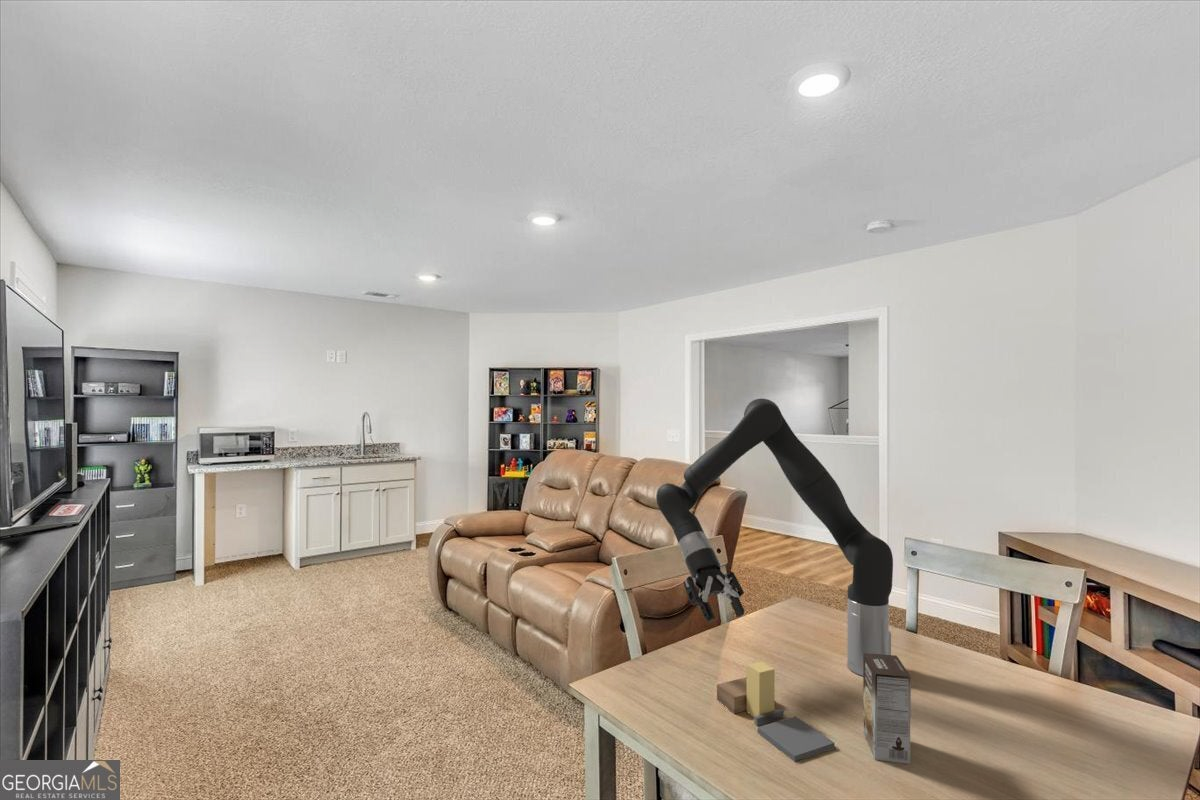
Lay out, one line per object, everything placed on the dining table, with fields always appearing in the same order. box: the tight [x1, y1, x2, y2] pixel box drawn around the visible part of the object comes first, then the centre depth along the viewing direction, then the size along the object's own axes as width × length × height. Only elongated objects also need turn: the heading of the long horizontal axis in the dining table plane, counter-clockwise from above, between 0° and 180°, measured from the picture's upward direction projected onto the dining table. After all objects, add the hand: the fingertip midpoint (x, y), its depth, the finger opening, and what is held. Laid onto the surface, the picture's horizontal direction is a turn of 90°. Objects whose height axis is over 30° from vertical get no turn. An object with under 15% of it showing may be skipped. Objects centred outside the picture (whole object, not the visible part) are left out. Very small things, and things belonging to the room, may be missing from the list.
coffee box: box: [862, 653, 912, 765], centre depth 107 cm, size 9×6×16 cm
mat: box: [757, 715, 836, 763], centre depth 109 cm, size 10×10×1 cm
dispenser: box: [716, 676, 785, 727], centre depth 121 cm, size 10×11×4 cm
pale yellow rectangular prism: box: [746, 660, 776, 717], centre depth 118 cm, size 4×4×10 cm
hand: (726, 617), depth 129 cm, fingers open, 8 cm apart
